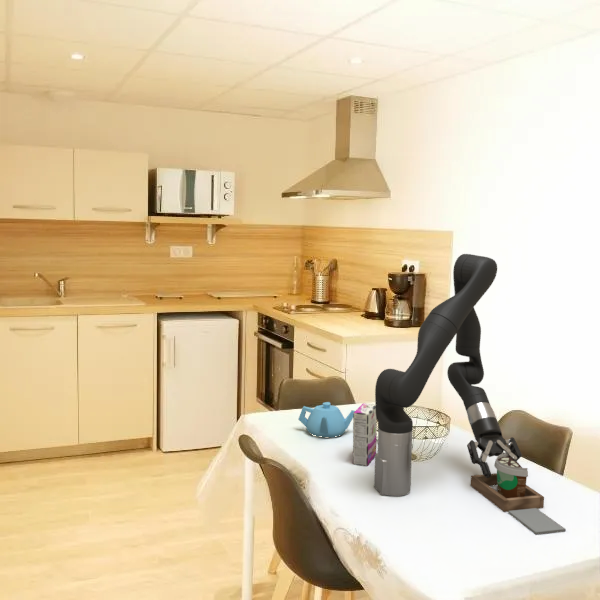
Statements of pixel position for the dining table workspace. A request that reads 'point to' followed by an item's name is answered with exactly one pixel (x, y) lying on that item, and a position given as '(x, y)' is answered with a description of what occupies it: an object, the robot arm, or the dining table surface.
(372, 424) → the candy bar box
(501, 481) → the food container
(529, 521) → the rubber mat
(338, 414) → the teapot
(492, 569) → the dining table surface
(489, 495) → the walnut frame
